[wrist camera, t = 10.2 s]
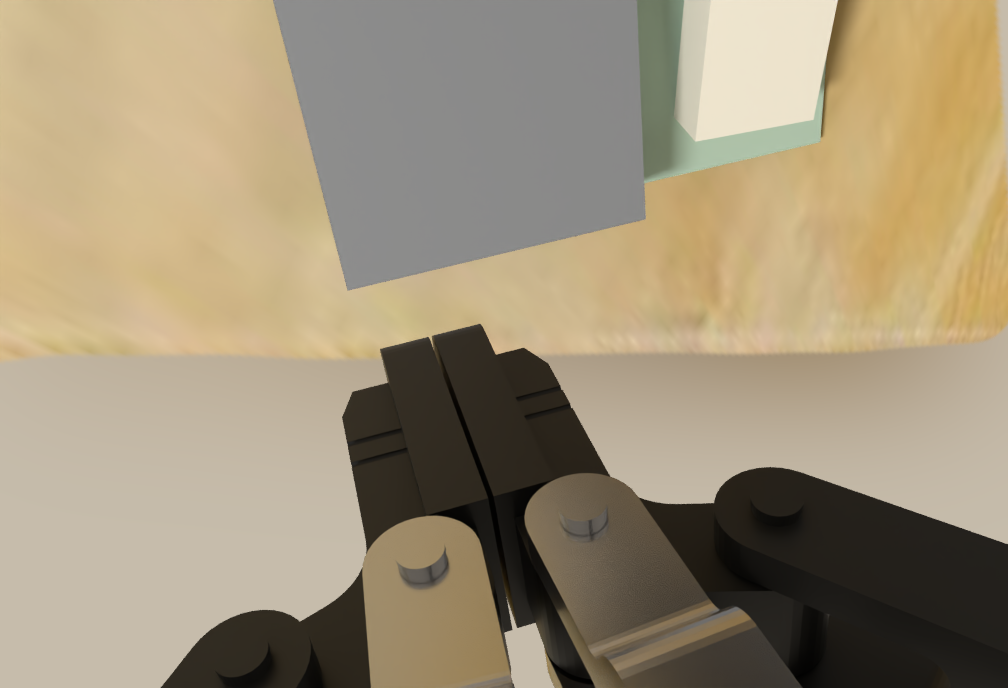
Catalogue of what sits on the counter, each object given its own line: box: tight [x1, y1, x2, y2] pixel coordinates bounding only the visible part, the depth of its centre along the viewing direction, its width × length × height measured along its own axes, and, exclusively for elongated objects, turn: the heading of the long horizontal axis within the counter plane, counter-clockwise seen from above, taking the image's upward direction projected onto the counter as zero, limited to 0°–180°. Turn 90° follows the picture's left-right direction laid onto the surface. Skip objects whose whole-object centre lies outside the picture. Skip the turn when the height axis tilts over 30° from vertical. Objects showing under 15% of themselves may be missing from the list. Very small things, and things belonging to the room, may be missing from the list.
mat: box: [637, 0, 827, 183], centre depth 42 cm, size 16×11×1 cm
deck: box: [273, 0, 646, 290], centre depth 39 cm, size 16×14×4 cm
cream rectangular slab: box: [674, 0, 838, 142], centre depth 41 cm, size 9×6×4 cm, turn 5°
